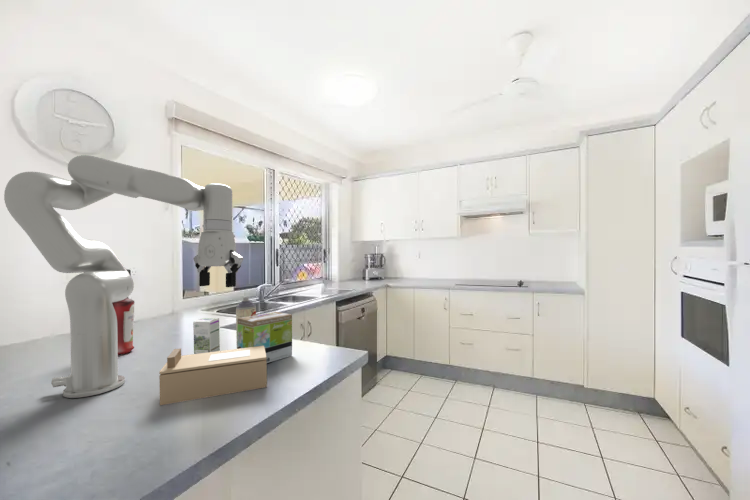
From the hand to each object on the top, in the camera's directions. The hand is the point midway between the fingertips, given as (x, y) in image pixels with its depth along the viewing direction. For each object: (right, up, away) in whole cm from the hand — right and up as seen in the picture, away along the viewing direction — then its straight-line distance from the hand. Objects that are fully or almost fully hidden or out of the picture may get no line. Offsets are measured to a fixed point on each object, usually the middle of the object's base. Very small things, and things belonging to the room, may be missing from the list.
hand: (217, 286), depth 92 cm
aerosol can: (-1, -27, +24) cm, 36 cm away
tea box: (+9, -27, +15) cm, 32 cm away
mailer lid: (+4, -19, -7) cm, 20 cm away
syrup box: (-9, -27, +12) cm, 31 cm away
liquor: (-49, -28, +26) cm, 62 cm away
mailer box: (+4, -26, -7) cm, 27 cm away
